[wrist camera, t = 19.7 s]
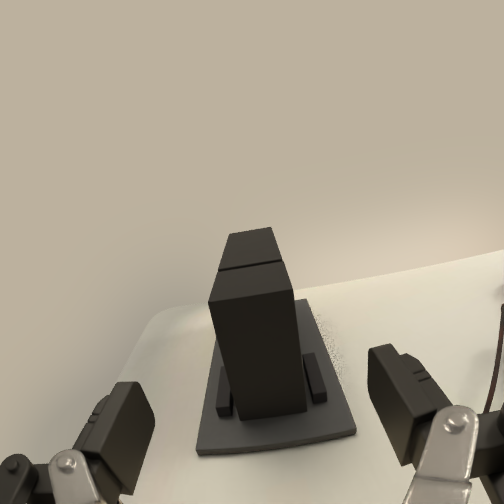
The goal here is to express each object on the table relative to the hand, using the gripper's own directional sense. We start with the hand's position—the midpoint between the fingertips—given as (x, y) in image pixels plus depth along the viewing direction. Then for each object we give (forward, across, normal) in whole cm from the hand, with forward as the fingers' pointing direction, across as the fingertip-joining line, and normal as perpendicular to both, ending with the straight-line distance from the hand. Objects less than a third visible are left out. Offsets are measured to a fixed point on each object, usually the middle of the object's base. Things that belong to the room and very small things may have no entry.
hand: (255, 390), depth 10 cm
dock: (+15, 0, -9) cm, 17 cm away
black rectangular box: (+9, 0, -8) cm, 12 cm away
